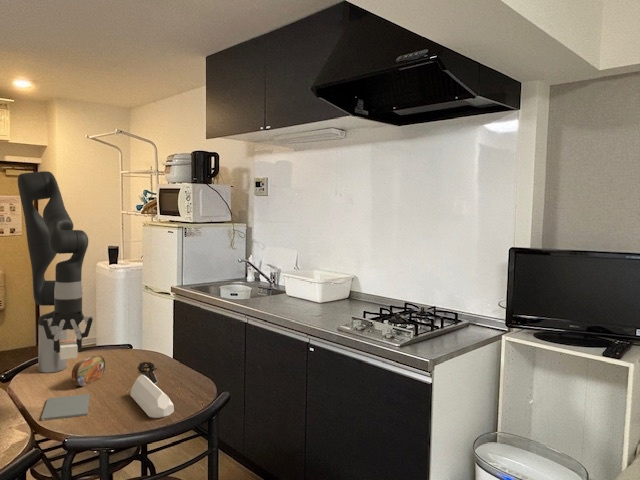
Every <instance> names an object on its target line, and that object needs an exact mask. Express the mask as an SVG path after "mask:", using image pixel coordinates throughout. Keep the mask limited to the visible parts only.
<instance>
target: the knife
mask: <svg viewBox="0 0 640 480" xmlns="http://www.w3.org/2000/svg"><path fill="white" fill-rule="evenodd" d="M145 364H147V365H145ZM145 368H146V369H145ZM147 368H150V369H148V370H147ZM157 369H158V368H157V367H155V364H154V363H152V362H151V361H148V362H147V361H143V362H139V369H138V372H140V373H141V374H143V375H144V376H146V377H147V378H148V379H149V380H151V381H152V382H153V383H154V384H155V385H156V384H158V383H159V381H158V379H157V376H156V374H154V373H155V371H154V370H157Z"/></svg>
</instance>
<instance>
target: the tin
mask: <svg viewBox="0 0 640 480" xmlns="http://www.w3.org/2000/svg"><path fill="white" fill-rule="evenodd" d="M105 370H106V360H105V358H104V357H103V356H102V355H91V356H89V357H87V358H85V359H83V360H80V361H78V362H77V363H75V364H74V366H73V367H72V371H71V381H72V383H73V385H75V386H78V387H86V386H87V385H90V384H92V383H94V382H95V381H97V380H100V379H101V378H102V376H103V375H104V373H105Z"/></svg>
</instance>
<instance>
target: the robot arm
mask: <svg viewBox="0 0 640 480" xmlns="http://www.w3.org/2000/svg"><path fill="white" fill-rule="evenodd" d="M17 188H18V191H19V192H18V194H19V197H20V198H19V199H20V201H21V202H20V203H21V206H22V211H23V216H24V217H23V218H24V223H25V232H26V241H27V249H28V254H29V259H30V265H31V275H32V293H33V299H34V302H35V304H36V305H38V306H43V307H45V306H49V307H50V306H51V307H52V306H54V307H53V311H51V312H48V313H44V314H42V315H40V316H39V317H38V322H37V323H38V352H37V353H38V359H37V361H38V362H37V367H38V372H40V373H47V374H49V373H56V372H57V373H58V372H61V371H64V370H65V369H67V359H60V355H59V343H60V341H62V340H68V339H67V331H68V330H71V331H72V330H73V331H74V335H75V336H76V339H75V341H76V344H77V346H78V353H79V352H80V350H82V347H83V339H85V338H87V337H89V334H90V331H91V328H92V324H93V320H94V317H93V316H86V315H84V313H83V294H84V293H83V285H82V284H83V283H82V272H83V271H82V269H83V264H84V259H85V255H86V253H87V251H88V246H89V236H88V234H87V233H86V232H85V231H84V230H82V229H74V222H73V221H72V218H71V217H70V215H69V213H68V211H67V210H66V207H65V203H64V200H63V196H62V194H61V190H60V187H59V184H58V181H57V179H56V177H55V174H53V173H52V172H51V171H47V170H43V171H42V170H41V171H35V172H33V171H32V172H25V173H24V172H23V173H19V175H18V177H17ZM39 200H48V201H47V203H46V204H45V207H44V208H43V212H42V215H41V214H40V213H39V211H37V209H36V208H35V206H34V201H39ZM58 254H59V255H61V254H71V257H70V258H69V259H66V260H63V261H59V262H58V263H55V264H56V265H55V271H54V272H55V277H54V278H55V280H46V278H45V273H46V271H47V269H48V268H49V266H50V265H51V263H52V262H53V261H54V259H55V257H56V256H57V255H58ZM83 321H84V324H85V325H86V326H85V330H84V332H81V329H80V326H79V325H80V324H81V323H82V322H83Z"/></svg>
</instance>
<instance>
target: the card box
mask: <svg viewBox="0 0 640 480" xmlns="http://www.w3.org/2000/svg"><path fill="white" fill-rule="evenodd" d="M78 353H79V352H78V346H77V344H76V339H67V340H62V341H60V343H59V355H60V359H66V360H67V359H76V358H78Z"/></svg>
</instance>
